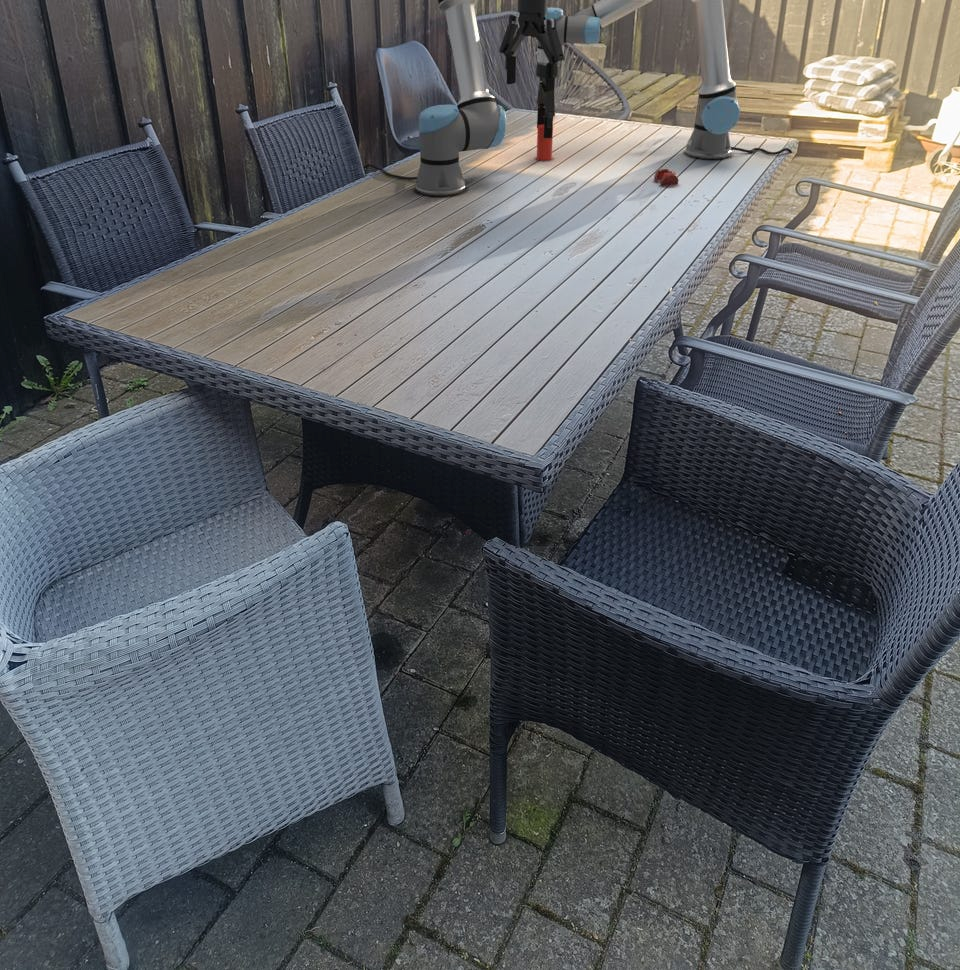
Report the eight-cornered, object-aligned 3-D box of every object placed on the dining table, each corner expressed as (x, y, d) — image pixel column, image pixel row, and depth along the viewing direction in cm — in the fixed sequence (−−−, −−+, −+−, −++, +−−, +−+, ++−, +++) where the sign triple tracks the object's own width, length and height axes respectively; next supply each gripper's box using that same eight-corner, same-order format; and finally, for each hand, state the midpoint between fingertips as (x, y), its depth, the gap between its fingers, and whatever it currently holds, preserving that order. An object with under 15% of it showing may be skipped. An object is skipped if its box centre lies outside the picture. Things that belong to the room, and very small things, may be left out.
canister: (554, 159, 286) (556, 126, 280) (540, 161, 285) (542, 128, 278) (547, 156, 290) (548, 123, 284) (533, 157, 289) (535, 125, 282)
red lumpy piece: (669, 164, 265) (680, 172, 259) (668, 178, 267) (679, 185, 261) (653, 166, 264) (664, 174, 258) (652, 180, 266) (662, 188, 260)
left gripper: (581, -3, 205) (576, 91, 217) (506, -11, 219) (505, 78, 232) (562, -1, 201) (557, 96, 213) (486, -8, 215) (486, 82, 227)
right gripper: (530, 56, 280) (527, 124, 292) (543, 70, 260) (539, 142, 272) (552, 56, 281) (548, 124, 293) (566, 70, 260) (562, 142, 273)
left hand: (530, 87), depth 222 cm, fingers open, 13 cm apart
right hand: (544, 133), depth 283 cm, fingers open, 13 cm apart
